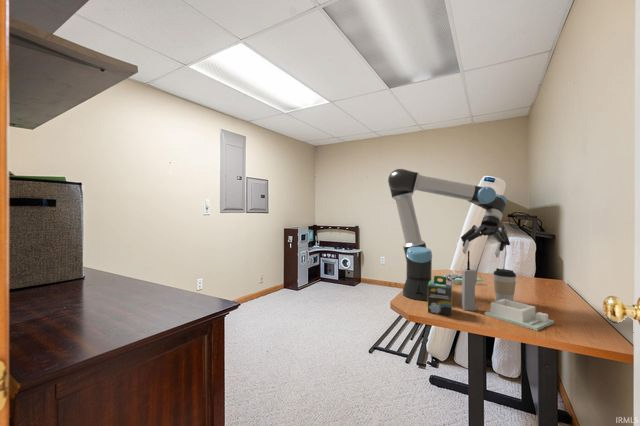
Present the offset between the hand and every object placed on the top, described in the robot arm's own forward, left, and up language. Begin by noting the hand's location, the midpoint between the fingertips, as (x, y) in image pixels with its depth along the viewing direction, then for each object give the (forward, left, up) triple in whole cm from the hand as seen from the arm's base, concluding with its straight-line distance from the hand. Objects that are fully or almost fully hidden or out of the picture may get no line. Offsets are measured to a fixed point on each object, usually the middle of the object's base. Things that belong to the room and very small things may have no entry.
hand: (479, 253), depth 128 cm
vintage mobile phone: (+2, -11, -23) cm, 25 cm away
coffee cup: (+4, +14, -23) cm, 27 cm away
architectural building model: (+18, -5, -23) cm, 29 cm away
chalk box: (-3, -24, -23) cm, 33 cm away
